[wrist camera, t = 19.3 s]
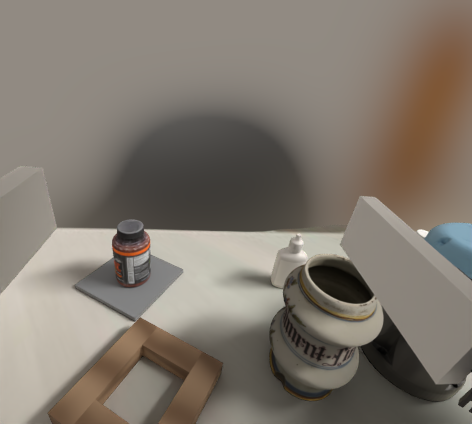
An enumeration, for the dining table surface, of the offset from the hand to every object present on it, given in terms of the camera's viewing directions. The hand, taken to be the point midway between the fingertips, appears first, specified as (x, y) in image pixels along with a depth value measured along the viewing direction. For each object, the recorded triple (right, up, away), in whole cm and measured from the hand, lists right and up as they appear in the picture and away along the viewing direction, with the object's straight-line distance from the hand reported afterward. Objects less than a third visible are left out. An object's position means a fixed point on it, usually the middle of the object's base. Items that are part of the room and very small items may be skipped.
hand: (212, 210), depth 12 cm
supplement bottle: (-18, -12, +37) cm, 43 cm away
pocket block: (-10, -23, +22) cm, 33 cm away
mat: (-18, -12, +38) cm, 44 cm away
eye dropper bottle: (+11, -15, +43) cm, 46 cm away
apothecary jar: (+11, -23, +28) cm, 38 cm away
